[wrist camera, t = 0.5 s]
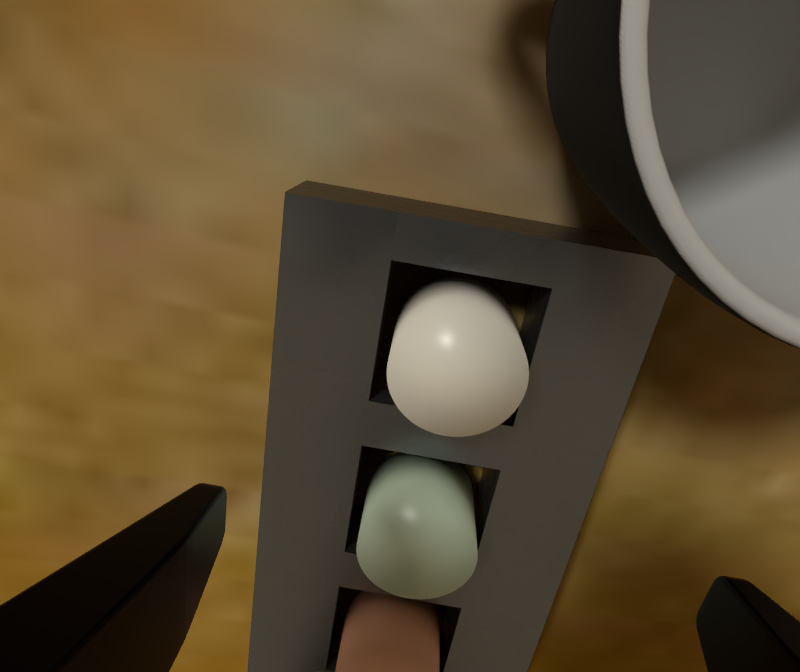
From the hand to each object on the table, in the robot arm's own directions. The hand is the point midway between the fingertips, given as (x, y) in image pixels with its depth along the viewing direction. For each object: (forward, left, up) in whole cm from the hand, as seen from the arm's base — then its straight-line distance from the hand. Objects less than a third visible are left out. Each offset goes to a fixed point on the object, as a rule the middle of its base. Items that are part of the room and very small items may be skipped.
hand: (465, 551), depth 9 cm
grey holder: (-6, 0, -10) cm, 12 cm away
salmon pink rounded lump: (-12, 0, -9) cm, 15 cm away
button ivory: (0, 0, -9) cm, 9 cm away
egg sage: (-6, 0, -9) cm, 11 cm away
